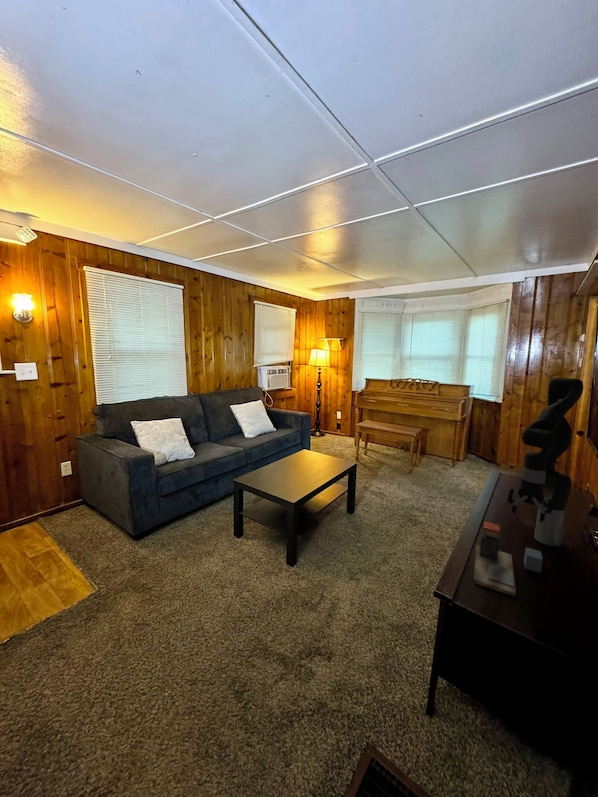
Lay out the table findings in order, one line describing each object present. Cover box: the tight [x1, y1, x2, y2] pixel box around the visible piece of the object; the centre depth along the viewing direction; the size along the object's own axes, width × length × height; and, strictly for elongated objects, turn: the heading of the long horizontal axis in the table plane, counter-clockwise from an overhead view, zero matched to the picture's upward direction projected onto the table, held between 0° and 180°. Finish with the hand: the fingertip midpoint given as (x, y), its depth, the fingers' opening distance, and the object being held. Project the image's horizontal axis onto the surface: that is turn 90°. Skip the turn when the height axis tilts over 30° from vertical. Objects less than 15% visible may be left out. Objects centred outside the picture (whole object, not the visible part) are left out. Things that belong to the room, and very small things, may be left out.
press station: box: [473, 529, 517, 598], centre depth 126 cm, size 13×25×10 cm, turn 150°
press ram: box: [482, 521, 501, 540], centre depth 133 cm, size 6×6×7 cm
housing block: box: [523, 547, 543, 574], centre depth 129 cm, size 5×6×6 cm
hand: (527, 517), depth 128 cm, fingers open, 8 cm apart
